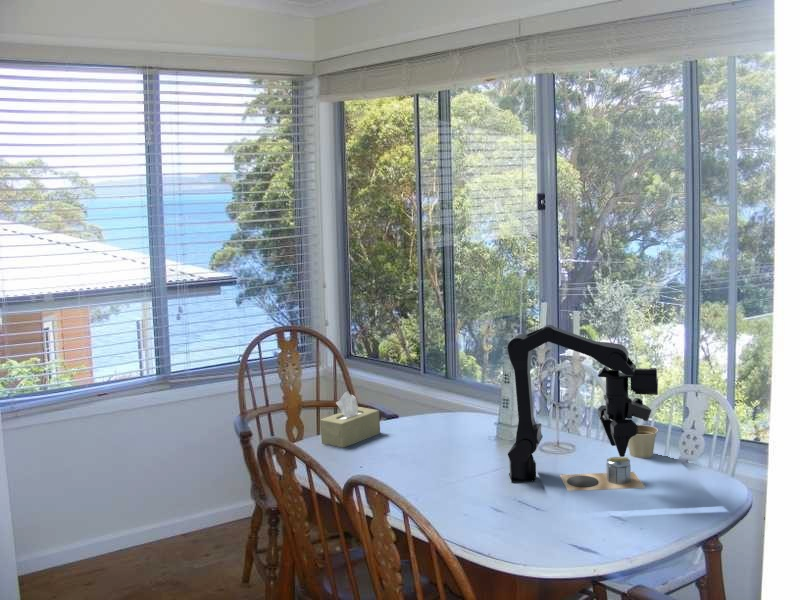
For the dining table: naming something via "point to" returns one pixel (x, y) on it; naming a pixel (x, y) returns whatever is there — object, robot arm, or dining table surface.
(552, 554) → the dining table surface
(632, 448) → the flower pot
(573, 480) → the board
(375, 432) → the tissue box
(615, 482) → the cap
